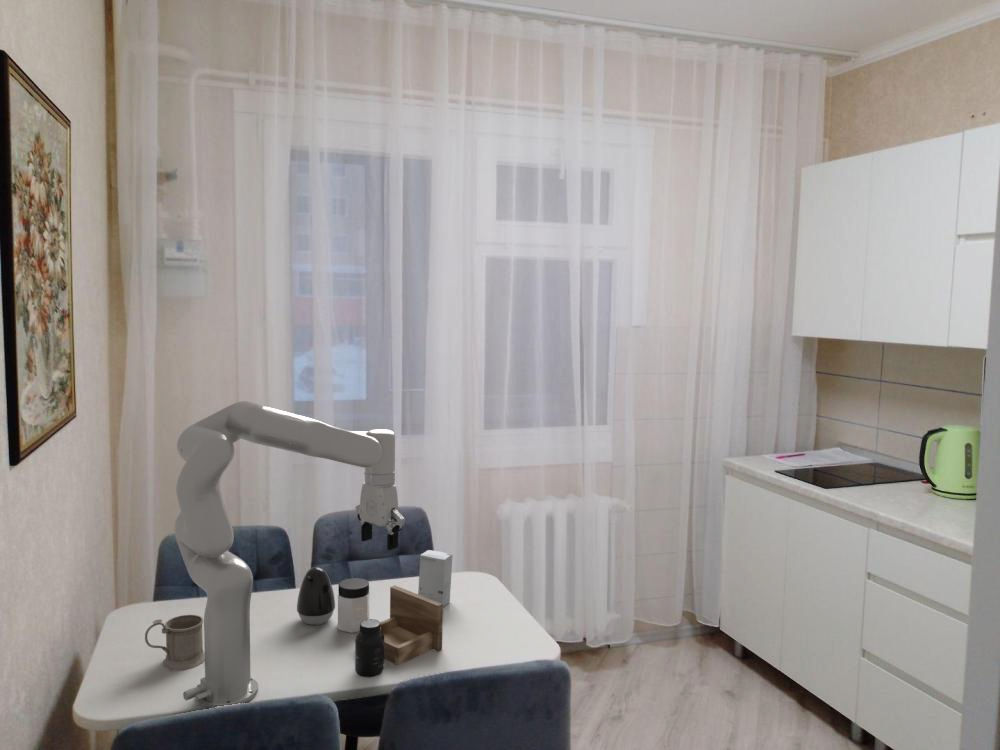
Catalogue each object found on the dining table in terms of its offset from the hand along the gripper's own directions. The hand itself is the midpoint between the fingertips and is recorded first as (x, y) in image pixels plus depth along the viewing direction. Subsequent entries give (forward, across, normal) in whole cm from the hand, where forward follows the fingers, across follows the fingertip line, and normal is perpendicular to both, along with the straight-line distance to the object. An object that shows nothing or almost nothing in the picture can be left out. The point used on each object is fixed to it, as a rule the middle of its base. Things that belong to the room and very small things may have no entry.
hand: (379, 544), depth 190 cm
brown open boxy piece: (+26, +6, +2) cm, 27 cm away
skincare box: (+26, -7, +28) cm, 39 cm away
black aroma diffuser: (+26, -22, -3) cm, 35 cm away
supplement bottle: (+26, +9, -12) cm, 30 cm away
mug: (+26, -28, -40) cm, 55 cm away
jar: (+26, -12, +2) cm, 29 cm away
